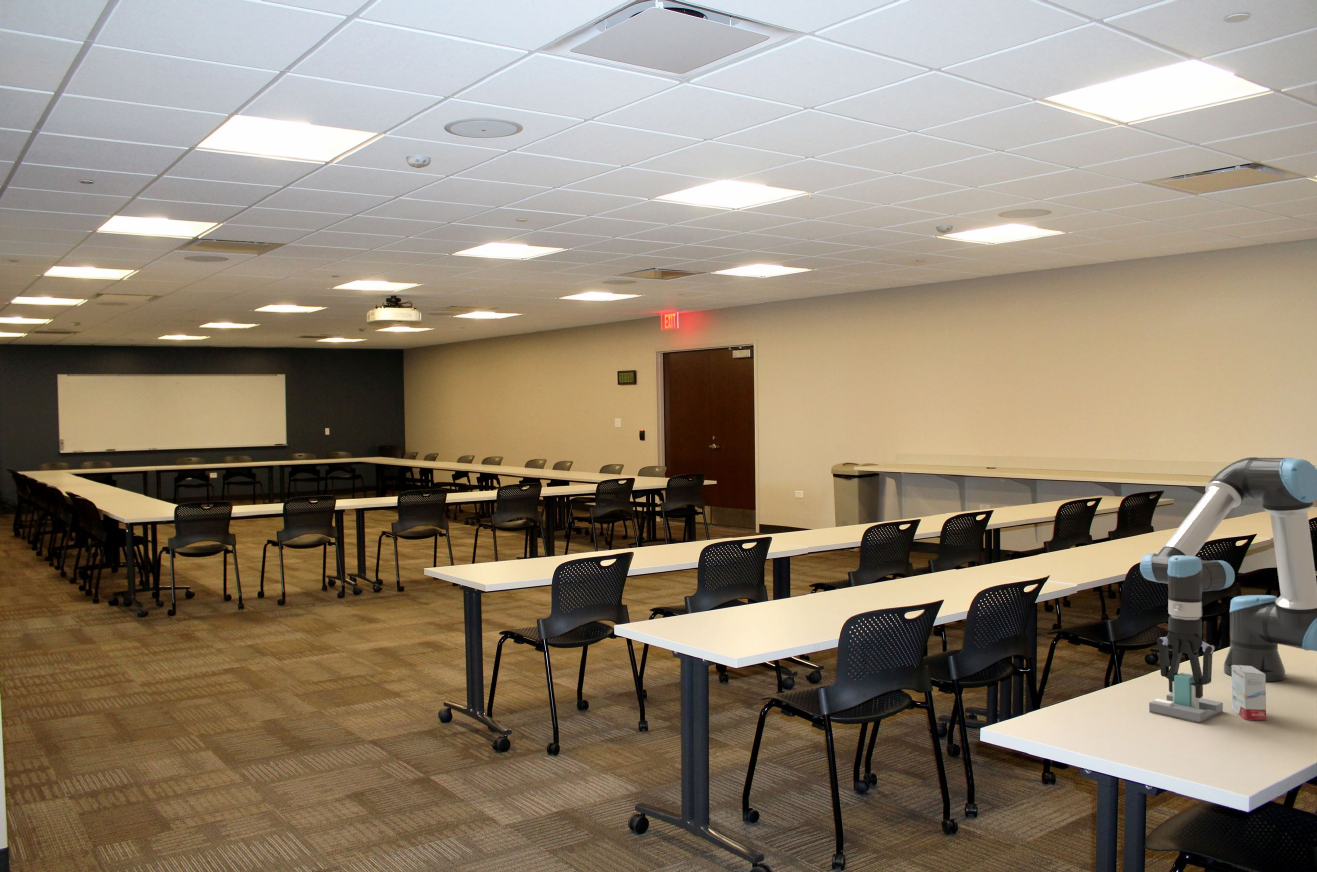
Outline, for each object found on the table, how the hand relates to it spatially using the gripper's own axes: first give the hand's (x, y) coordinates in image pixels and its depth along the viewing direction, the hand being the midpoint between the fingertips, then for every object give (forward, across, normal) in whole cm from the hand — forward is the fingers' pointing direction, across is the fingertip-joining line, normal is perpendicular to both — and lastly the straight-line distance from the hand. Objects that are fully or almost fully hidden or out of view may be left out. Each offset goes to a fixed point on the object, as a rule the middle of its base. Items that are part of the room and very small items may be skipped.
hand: (1185, 707), depth 237 cm
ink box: (+1, +11, +9) cm, 15 cm away
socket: (+1, 0, 0) cm, 1 cm away
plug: (+1, 0, 0) cm, 1 cm away
